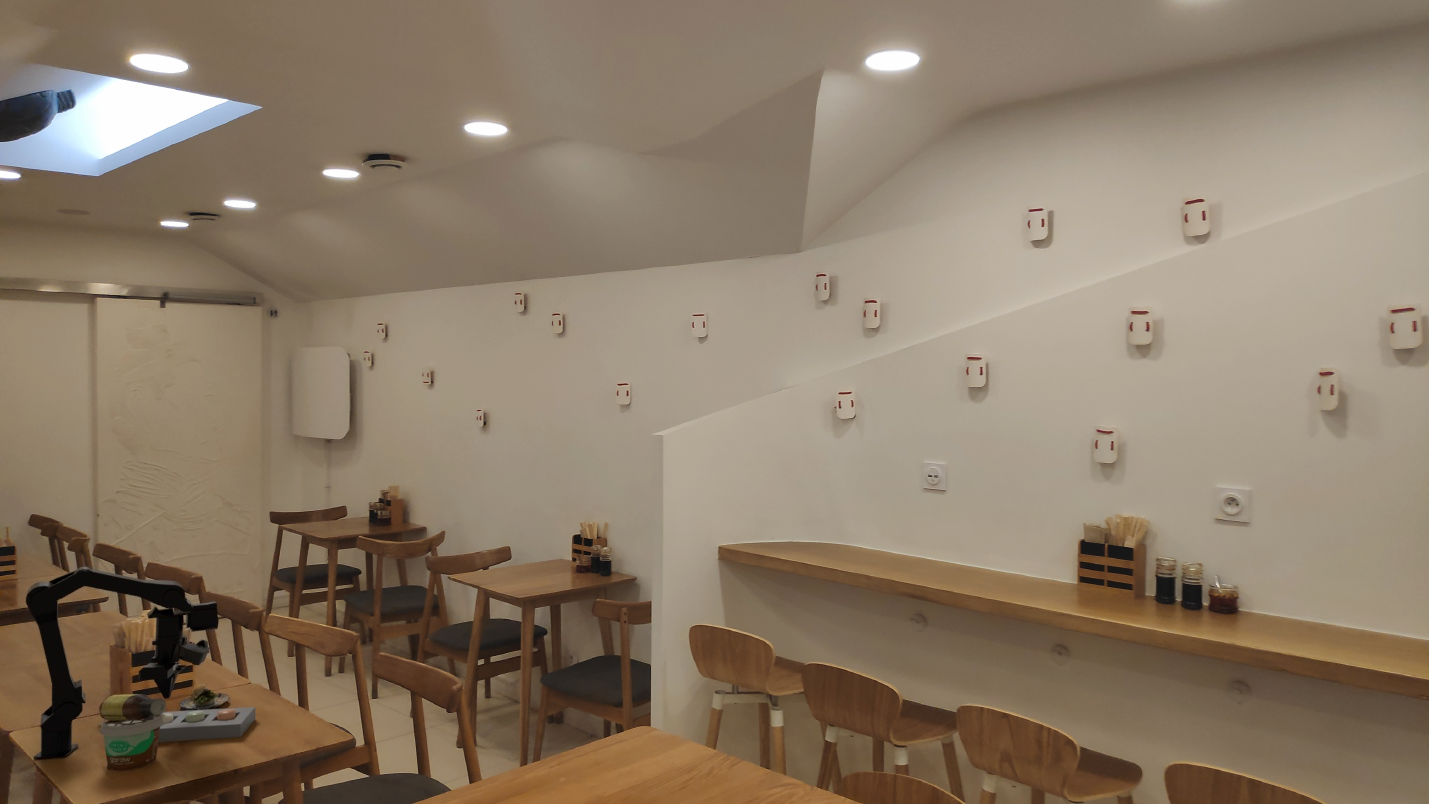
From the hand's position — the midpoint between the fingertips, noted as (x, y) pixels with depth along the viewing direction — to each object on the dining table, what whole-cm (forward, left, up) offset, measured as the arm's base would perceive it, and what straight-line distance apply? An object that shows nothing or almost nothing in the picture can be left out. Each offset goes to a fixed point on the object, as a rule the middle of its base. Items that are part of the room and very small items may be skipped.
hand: (167, 698), depth 217 cm
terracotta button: (0, -13, -7) cm, 15 cm away
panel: (0, -6, -9) cm, 11 cm away
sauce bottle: (+13, +18, -6) cm, 23 cm away
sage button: (0, -6, -7) cm, 10 cm away
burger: (+19, -2, -9) cm, 21 cm away
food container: (-20, +1, -9) cm, 22 cm away
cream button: (0, +1, -7) cm, 8 cm away
